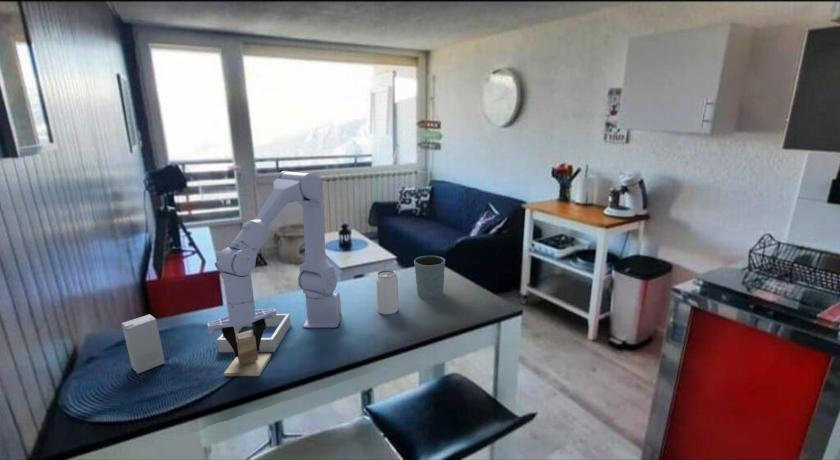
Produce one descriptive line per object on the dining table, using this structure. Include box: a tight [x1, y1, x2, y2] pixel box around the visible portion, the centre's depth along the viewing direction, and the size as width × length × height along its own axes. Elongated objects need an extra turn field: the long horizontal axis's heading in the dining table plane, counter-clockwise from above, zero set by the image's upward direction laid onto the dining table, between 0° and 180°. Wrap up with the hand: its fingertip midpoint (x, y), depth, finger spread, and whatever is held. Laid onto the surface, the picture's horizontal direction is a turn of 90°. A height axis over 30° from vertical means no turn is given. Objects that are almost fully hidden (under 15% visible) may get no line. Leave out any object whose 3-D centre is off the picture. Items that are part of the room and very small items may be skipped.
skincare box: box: [121, 314, 166, 375], centre depth 97 cm, size 6×4×12 cm
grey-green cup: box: [413, 255, 446, 300], centre depth 137 cm, size 10×10×12 cm
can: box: [375, 269, 399, 316], centre depth 125 cm, size 6×6×12 cm
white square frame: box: [216, 313, 292, 353], centre depth 111 cm, size 14×14×4 cm
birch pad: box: [223, 353, 272, 377], centre depth 99 cm, size 8×8×1 cm
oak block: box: [236, 329, 259, 365], centre depth 98 cm, size 4×4×6 cm
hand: (247, 352), depth 98 cm, fingers closed on oak block, 4 cm apart
